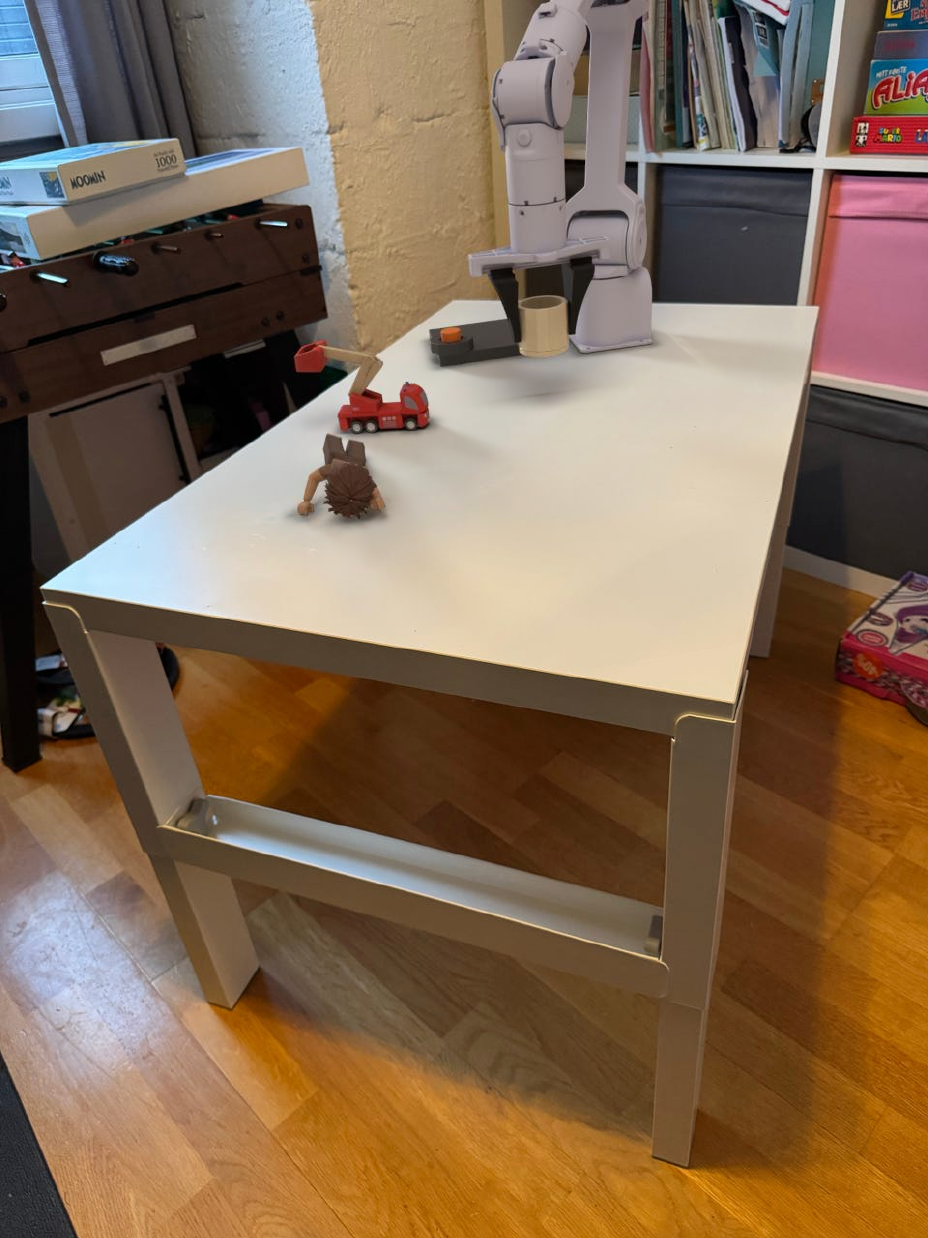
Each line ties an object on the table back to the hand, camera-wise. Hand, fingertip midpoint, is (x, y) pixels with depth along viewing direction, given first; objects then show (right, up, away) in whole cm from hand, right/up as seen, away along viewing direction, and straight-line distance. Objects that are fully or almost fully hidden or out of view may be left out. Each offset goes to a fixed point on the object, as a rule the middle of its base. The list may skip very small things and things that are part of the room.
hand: (542, 336), depth 96 cm
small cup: (0, -1, +1) cm, 1 cm away
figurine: (-21, -19, -9) cm, 30 cm away
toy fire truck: (-19, -9, +4) cm, 22 cm away
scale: (-5, +6, +24) cm, 25 cm away
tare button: (-10, +5, +19) cm, 22 cm away
